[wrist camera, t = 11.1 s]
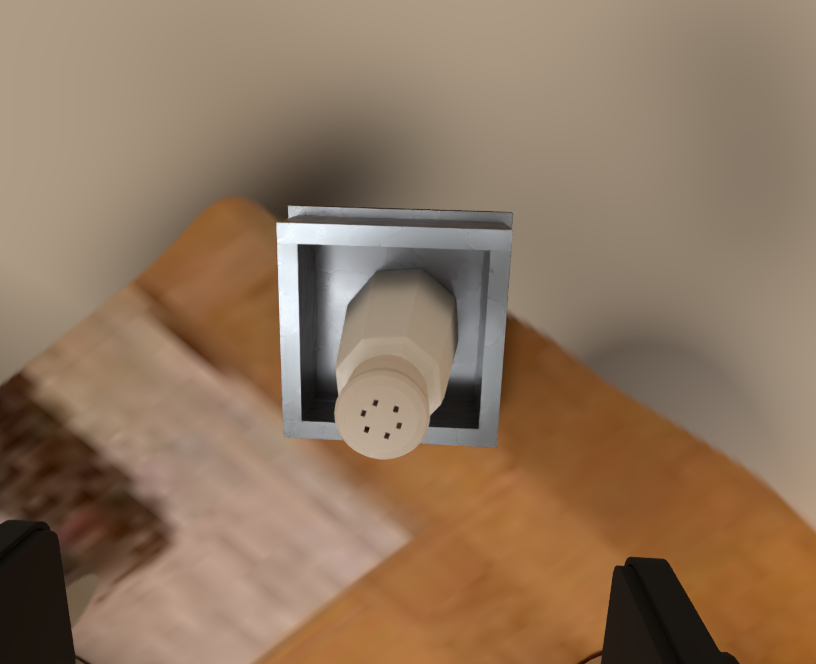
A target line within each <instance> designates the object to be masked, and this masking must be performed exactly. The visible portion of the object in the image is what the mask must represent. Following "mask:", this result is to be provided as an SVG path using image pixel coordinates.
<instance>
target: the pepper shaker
mask: <svg viewBox="0 0 816 664" xmlns="http://www.w3.org/2000/svg"><path fill="white" fill-rule="evenodd" d="M457 345H458V323H457V305H456V297H454V296H453V295H452V294H451V293H450V292H449V291H447V290H446V289H445V288H444V287H443V286H442V285H441V284H439V283H438V282H437V281H436V280H435V279H434V278H432V277H431V276H430V275H429V274H428V273H427V272H426V271H424V270H423V269H422V268H419V269H403V270H388V271H376V272H375V273H374V274H373V276H372V277H371V278H370V279H369V280H368V281H367V283H366V284H365V285H364V286H363V287H362V288H361V290H360V291H359V292H358V293H357V294H356V295H355V297H354V298H353V299H352V300H351V301H350V302H349V304H348V305H347V310H346V315H345V320H344V325H343V330H342V335H341V340H340V345H339V350H338V355H337V360H336V379H337V388H338V398H337V400H336V405H335V411H334V415H335V424H336V426H337V429H338V431H339V434H340V436H341V437H342V438H343V440H344V441H345V442H346V444H347V445H349V446H350V447H351V448H352V449H354V450H355V451H356V452H358V453H360V454H362V455H364V456H367V457H370V458H375V459H394V458H397V457H400V456H404V455H405V454H407V453H409V452H410V451H412V450H414V449H415V448H416V447H417V446H418V445H419V444H420V443H421V442H422V440H423V438H424V437H425V435H426V433H427V431H428V427H429V422H430V415H431V414H432V413H433V412H434V411H435V410H436V409H437V408H438V407H439V406H440V405H441V403H442V401H443V399H444V396H445V392H446V388H447V384H448V380H449V376H450V373H451V369H452V365H453V361H454V357H455V353H456V349H457Z"/></svg>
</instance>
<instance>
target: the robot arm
mask: <svg viewBox="0 0 816 664" xmlns="http://www.w3.org/2000/svg"><path fill="white" fill-rule="evenodd" d="M0 664H76V660H75V652H74V645H73V638H72V631H71V624H70V617H69V610H68V603H67V596H66V589H65V582H64V575H63V568H62V561H61V554H60V547H59V540H58V536H57V534H56V533H55V532H53V531H51V530H50V527H49V526H48V525H47V523H45V522H42V521H25V520H7V521H5V522H3V523H2V524H0ZM585 664H739V662H738V661H737V660H736V658H735V657H734V656H732V655H731V654H729V653H728V652H720V651H719V649H718V648H717V646H716V644H715V642H714V641H713V639H712V637H711V635H710V634H709V632H708V630H707V629H706V627H705V625H704V623H703V622H702V620H701V618H700V616H699V615H698V613H697V611H696V609H695V608H694V606H693V604H692V603H691V601H690V599H689V597H688V596H687V594H686V592H685V590H684V589H683V587H682V585H681V584H680V582H679V580H678V578H677V577H676V575H675V573H674V571H673V570H672V568H671V566H670V564H669V563H668V562H667V561H666V560H665V559H657V558H641V557H629V558H627V560H626V562H625V566H615V568H614V572H613V578H612V585H611V592H610V600H609V607H608V614H607V622H606V629H605V636H604V644H603V651H602V655H601V656H599V657H597V658H594V659H592V660H590V661H588V662H587V663H585Z"/></svg>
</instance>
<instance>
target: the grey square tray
mask: <svg viewBox="0 0 816 664" xmlns="http://www.w3.org/2000/svg"><path fill="white" fill-rule="evenodd" d="M512 221H513V213H512V212H492V211H462V210H430V209H398V208H366V207H334V206H302V205H291V206H288V219H285V220H283V221H280V222H277V252H278V282H279V313H280V343H281V373H282V404H283V434H284V437H289V438H310V439H331V440H343V438H342V437H341V436H340V434H339V431H338V429H337V426H336V424H335V415H334V411H335V405H336V400H337V398H338V388H337V379H336V360H337V355H338V350H339V345H340V340H341V335H342V330H343V325H344V320H345V315H346V310H347V305H348V304H349V302H350V301H351V300H352V299H353V298H354V297H355V295H356V294H357V293H358V292H359V291H360V290H361V288H362V287H363V286H364V285H365V284H366V283H367V281H368V280H369V279H370V278H371V277H372V276H373V274H374V273H375V272H376V271H388V270H403V269H419V268H422V269H423V270H424V271H426V272H427V273H428V274H429V275H430V276H431V277H432V278H434V279H435V280H436V281H437V282H438V283H439V284H441V285H442V286H443V287H444V288H445V289H446V290H447V291H449V292H450V293H451V294H452V295H453V296H454V297H456V305H457V323H458V345H457V349H456V353H455V357H454V361H453V365H452V369H451V373H450V376H449V380H448V384H447V388H446V392H445V396H444V399H443V401H442V403H441V405H440V406H439V407H438V408H437V409H436V410H435V411H434V412H433V413H432V414H431V415H430V422H429V427H428V431H427V433H426V435H425V437H424V438H423V440H422V442H421V443H420V444H436V445H456V446H477V447H497V435H498V422H499V409H500V395H501V382H502V368H503V355H504V342H505V328H506V315H507V300H508V288H509V275H510V260H511V247H512V234H513V230H512Z"/></svg>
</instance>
